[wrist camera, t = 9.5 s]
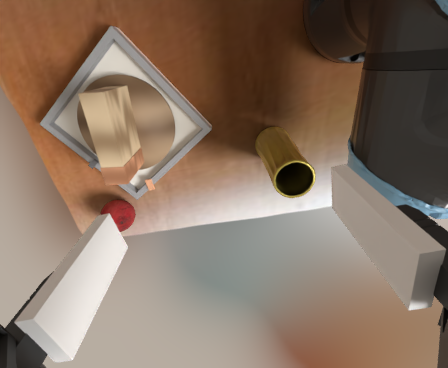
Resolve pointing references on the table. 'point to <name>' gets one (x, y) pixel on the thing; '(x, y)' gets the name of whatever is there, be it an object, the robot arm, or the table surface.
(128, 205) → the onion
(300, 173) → the vase
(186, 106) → the panel
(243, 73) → the table surface
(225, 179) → the table surface
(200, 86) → the table surface
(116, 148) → the dial
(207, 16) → the table surface
